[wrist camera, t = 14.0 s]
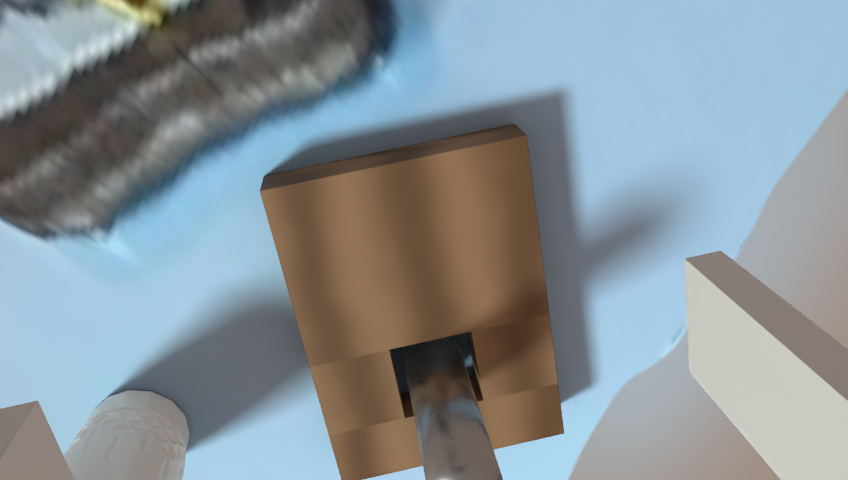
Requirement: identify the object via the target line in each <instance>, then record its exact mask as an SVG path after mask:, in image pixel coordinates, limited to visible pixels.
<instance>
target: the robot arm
mask: <svg viewBox="0 0 848 480" xmlns="http://www.w3.org/2000/svg"><path fill="white" fill-rule="evenodd" d="M685 279H686V303H687V327H688V351H689V372H690V373H691V374H692V376H693V377H694V378H695V379H696V380H697V382H699V384H700V385H701V386H702V387H703V389H704V390H705V391H706V392H707V393H708V394H709V395H710V397H711V398H712V399H713V400H714V401H715V403H716V404H717V405H718V406H719V407H720V409H721V410H722V411H723V412H724V413H725V414H726V416H727V417H728V418H729V419H730V420H731V421H732V423H733V424H734V425H735V426H736V427H737V428H738V430H739V431H740V432H741V433H742V434H743V435H744V437H745V438H746V439H747V440H748V441H749V443H750V444H751V445H752V446H753V447H754V448H755V449H756V451H757V452H758V453H759V454H760V455H761V456H762V458H763V459H764V460H765V461H766V462H767V464H768V465H769V466H770V467H771V468H772V470H773V471H774V472H775V473H776V474H777V475H778V477H779V478H780V479H781V480H848V349H847V348H846V347H844V346H843V345H842V344H841V343H839V342H838V341H837V340H835V339H834V338H833V337H832V336H830V335H829V334H828V333H827V332H825V331H824V330H823V329H821V328H820V327H819V326H817V325H816V324H815V323H814V322H812V321H811V320H809V319H808V318H807V317H806V316H805V315H803V314H802V313H801V312H799V311H798V310H797V309H795V308H794V307H793V306H792V305H790V304H789V303H788V302H786V301H785V300H784V299H782V298H781V297H780V296H779V295H777V294H776V293H775V292H773V291H772V290H771V289H769V288H768V287H767V286H765V285H764V284H763V283H762V282H760V281H759V280H758V279H757V278H755V277H754V276H753V275H751V274H750V273H749V272H748V271H746V270H745V269H744V268H742V267H741V266H740V265H738V264H737V263H736V262H735V261H733V260H732V259H731V258H729V257H728V256H727V255H726V254H724V253H723V252H722V251H718V252H713V253H708V254H704V255H699V256H695V257H690V258H686V259H685ZM0 480H74V477H73V475H72V473H71V471H70V469H69V467H68V465H67V462H66V460H65V458H64V456H63V454H62V452H61V450H60V447H59V445H58V443H57V441H56V439H55V437H54V434H53V432H52V430H51V428H50V426H49V424H48V422H47V419H46V417H45V415H44V413H43V411H42V409H41V407H40V404H39V402H38V401H34V402H30V403H25V404H21V405H16V406H12V407H7V408H3V409H0Z"/></svg>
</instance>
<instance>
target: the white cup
mask: <svg viewBox="0 0 848 480" xmlns="http://www.w3.org/2000/svg"><path fill="white" fill-rule="evenodd" d="M189 435H190V433H189V429H188V424H187V420H186V416H185V415H184V414H183V412H182V411H181V410H180V409H179V408H178V407H177V406H176V405H175V404H174V402H173V401H172V400H169V399H167V398H165V397H163V396H161V395H159V394H156V393H154V392H152V391H137V390H127V391H124V392H121V393H118V394H115V395H112V396H109V397H107V398H106V399H105V400H104V401H103V402H102V403H101V404H100V405H99V406H97V407H96V408H95V409H94V410H93V411H92V413H91V414H90V416H89V418H88V420H87V421H86V423H85V425H84V427H83V428H82V429H81V430H80V432H79V433H78V434H77V436H76V437H75V439H74V440H73V442H72V444H71V445H70V447H69V449H68V450H67V451H66V453H65V454H64V458H65V460H66V462H67V465H68V467H69V469H70V471H71V473H72V475H73V477H74V480H182V479H183V474H184V467H185V454H186V449H187V445H188V440H189Z"/></svg>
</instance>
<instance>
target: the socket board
mask: <svg viewBox="0 0 848 480" xmlns="http://www.w3.org/2000/svg"><path fill="white" fill-rule="evenodd" d="M260 193H261V197H262V200H263V204H264V207H265V211H266V214H267V218H268V221H269V225H270V228H271V232H272V236H273V239H274V243H275V246H276V250H277V253H278V257H279V260H280V264H281V267H282V271H283V274H284V278H285V282H286V285H287V289H288V292H289V296H290V299H291V303H292V306H293V310H294V313H295V317H296V320H297V324H298V328H299V331H300V335H301V338H302V342H303V345H304V349H305V352H306V356H307V359H308V363H309V366H310V370H311V374H312V377H313V381H314V384H315V388H316V391H317V395H318V398H319V402H320V405H321V409H322V412H323V416H324V420H325V423H326V427H327V430H328V434H329V437H330V441H331V444H332V448H333V451H334V455H335V458H336V462H337V465H338V469H339V473H340V476H341V480H362V479H367V478H371V477H376V476H380V475H384V474H389V473H393V472H397V471H402V470H406V469H410V468H415V467H419V466H423V462H422V456H421V451H420V446H419V440H418V435H417V430H416V424H415V419H414V413H413V408H412V403H411V397H410V392H404V393H401V392H400V388H399V384H398V379H397V375H396V370H395V366H394V362H393V357H392V353H391V349H395V348H399V347H404V346H408V345H413V344H417V343H422V342H426V341H431V340H435V339H440V338H444V337H449V336H453V335H458V334H462V333H468V338H469V344H470V350H471V355H472V361H473V366H474V372H475V377H471V378H469V379H470V382H471V385H472V388H473V391H474V394H475V397H476V400H477V403H478V406H479V409H480V412H481V415H482V418H483V421H484V424H485V427H486V430H487V433H488V436H489V439H490V442H491V445H492V448H493V449H498V448H502V447H506V446H511V445H515V444H519V443H524V442H528V441H533V440H537V439H541V438H546V437H550V436H554V435H559V434H563V433H564V428H563V420H562V412H561V404H560V396H559V388H558V380H557V372H556V364H555V357H554V349H553V341H552V333H551V325H550V317H549V309H548V301H547V293H546V285H545V277H544V269H543V262H542V254H541V246H540V238H539V230H538V222H537V214H536V206H535V198H534V190H533V182H532V174H531V167H530V159H529V151H528V143H527V135H526V134H525V133H524V132H522V131H521V130H520V129H519V128H518V127H517V126H516V125H515V124H512V125H507V126H503V127H498V128H493V129H488V130H483V131H479V132H474V133H469V134H464V135H459V136H455V137H450V138H445V139H440V140H435V141H431V142H426V143H421V144H416V145H411V146H407V147H402V148H397V149H392V150H387V151H383V152H378V153H373V154H368V155H363V156H359V157H354V158H349V159H344V160H339V161H335V162H330V163H325V164H320V165H316V166H311V167H306V168H301V169H296V170H292V171H287V172H282V173H277V174H272V175H268V176H264V178H263V182H262V186H261V189H260Z"/></svg>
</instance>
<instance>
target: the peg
mask: <svg viewBox="0 0 848 480" xmlns="http://www.w3.org/2000/svg"><path fill="white" fill-rule="evenodd" d="M403 360H404V365H405V371H406V376H407V381H408V387H409V392H410V397H411V403H412V408H413V413H414V419H415V424H416V430H417V435H418V440H419V446H420V451H421V456H422V462H423V467H424V472H425V478H426V480H503V479H502V475H501V472H500V469H499V466H498V463H497V460H496V457H495V454H494V451H493V448H492V445H491V442H490V439H489V436H488V433H487V430H486V427H485V424H484V421H483V418H482V415H481V412H480V409H479V406H478V403H477V400H476V397H475V394H474V391H473V388H472V385H471V382H470V379H469V376H468V373H467V370H466V366H465V363H464V360H463V357H462V354H461V351H460V348H459V345H458V343H457V340H456V339H455V337H454V336H449V337H444V338H440V339H435V340H431V341H426V342H422V343H417V344H413V345H408V346H404V349H403Z"/></svg>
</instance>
